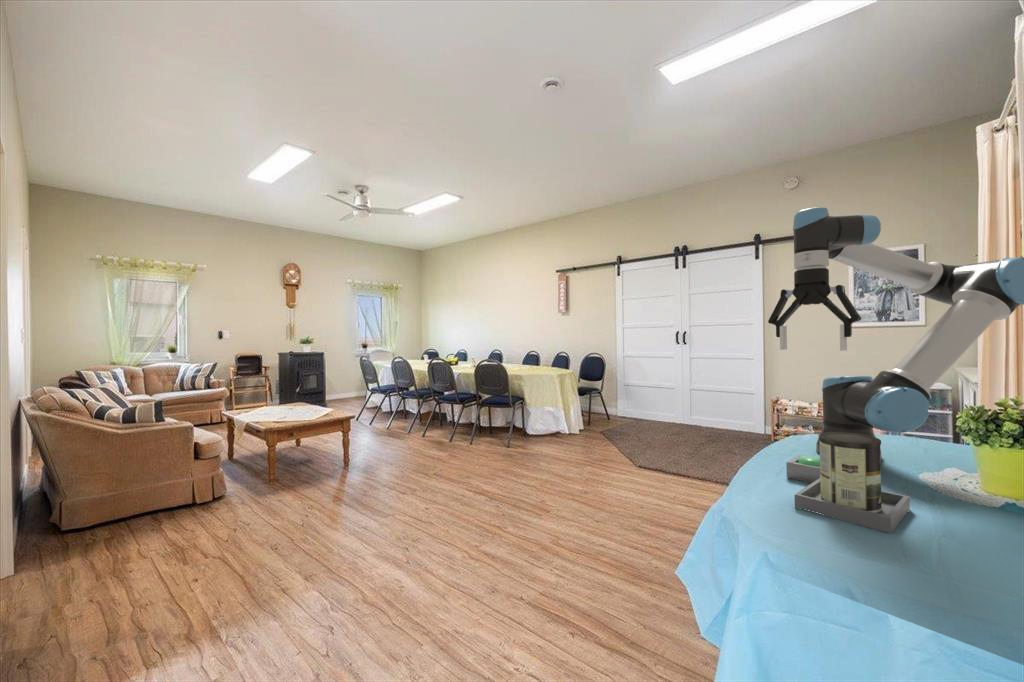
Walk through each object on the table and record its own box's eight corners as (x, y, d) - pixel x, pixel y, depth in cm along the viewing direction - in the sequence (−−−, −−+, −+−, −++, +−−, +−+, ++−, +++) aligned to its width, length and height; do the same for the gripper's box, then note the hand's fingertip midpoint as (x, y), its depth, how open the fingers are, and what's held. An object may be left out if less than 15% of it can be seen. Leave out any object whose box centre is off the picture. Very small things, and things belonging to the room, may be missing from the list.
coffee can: (862, 496, 95) (861, 431, 95) (894, 515, 85) (893, 443, 85) (810, 494, 97) (809, 431, 97) (835, 513, 87) (834, 442, 87)
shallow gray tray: (820, 489, 102) (820, 477, 102) (909, 509, 90) (909, 496, 90) (794, 507, 92) (794, 494, 92) (890, 533, 80) (890, 518, 80)
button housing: (798, 470, 115) (798, 455, 115) (835, 478, 109) (834, 462, 109) (786, 477, 110) (786, 461, 110) (824, 486, 104) (823, 469, 104)
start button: (802, 470, 113) (802, 455, 113) (825, 475, 109) (825, 459, 109) (795, 474, 110) (795, 459, 110) (818, 479, 106) (818, 463, 106)
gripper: (754, 273, 122) (755, 349, 123) (867, 261, 103) (868, 351, 103) (765, 275, 127) (766, 348, 127) (875, 263, 107) (876, 349, 108)
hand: (812, 350), depth 115 cm, fingers open, 13 cm apart
